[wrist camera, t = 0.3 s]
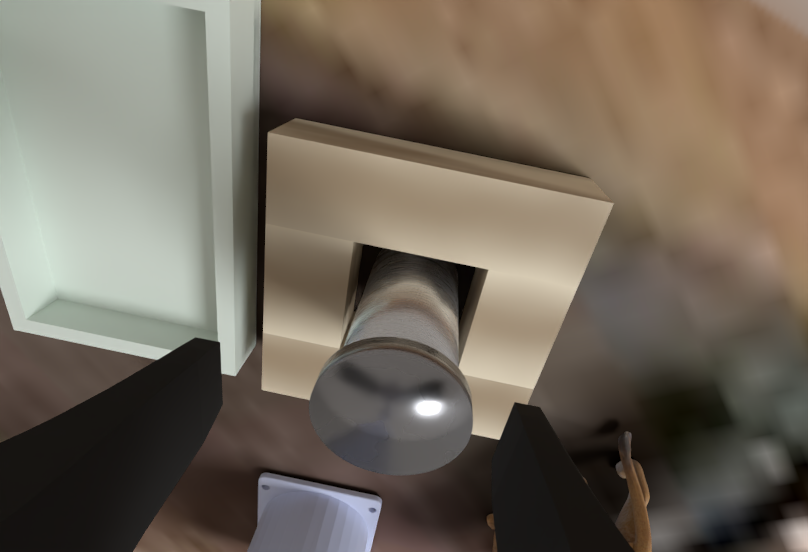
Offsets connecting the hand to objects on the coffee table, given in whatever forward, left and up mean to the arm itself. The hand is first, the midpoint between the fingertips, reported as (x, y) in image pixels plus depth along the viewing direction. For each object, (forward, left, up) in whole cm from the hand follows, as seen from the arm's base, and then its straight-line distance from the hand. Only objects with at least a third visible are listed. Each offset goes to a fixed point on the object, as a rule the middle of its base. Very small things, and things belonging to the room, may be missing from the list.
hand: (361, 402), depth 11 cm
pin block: (-2, -1, -10) cm, 10 cm away
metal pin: (-2, -1, -10) cm, 10 cm away
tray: (0, +12, -10) cm, 16 cm away
